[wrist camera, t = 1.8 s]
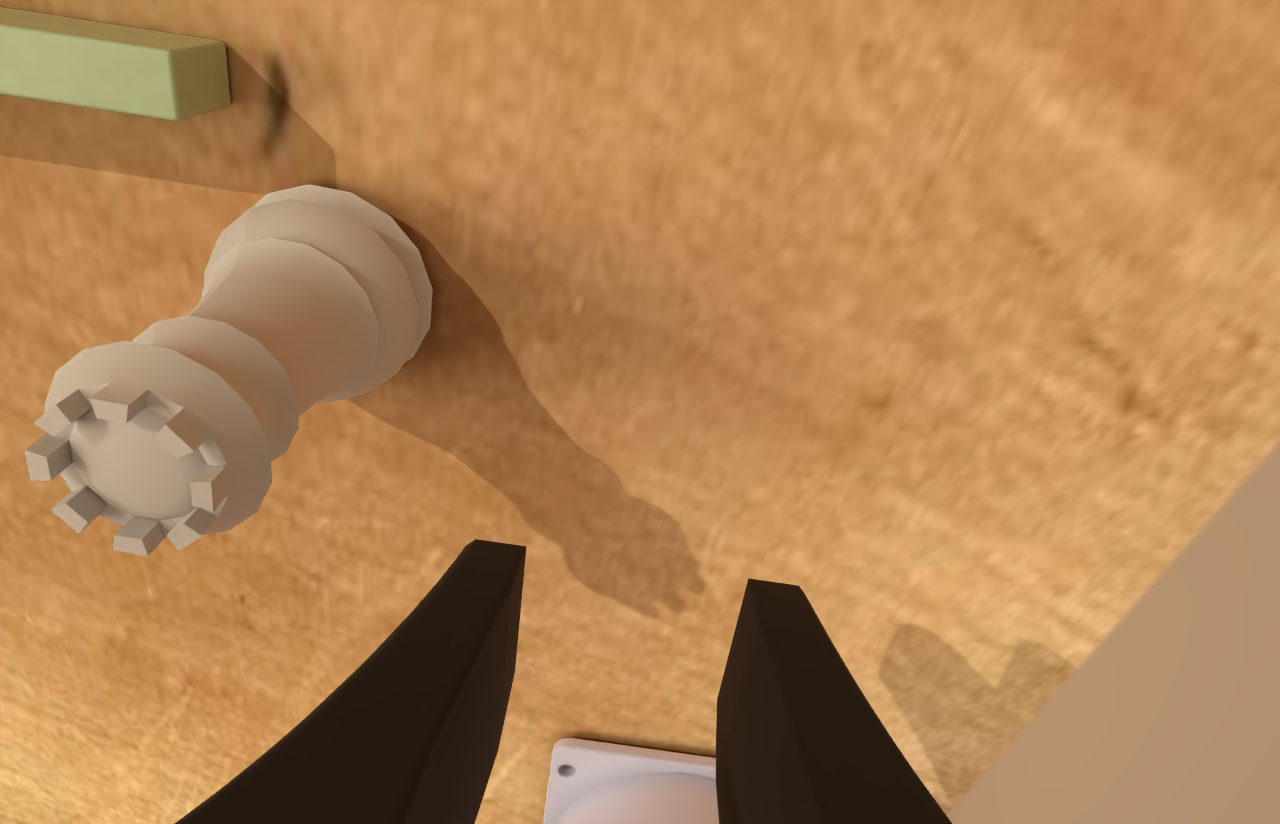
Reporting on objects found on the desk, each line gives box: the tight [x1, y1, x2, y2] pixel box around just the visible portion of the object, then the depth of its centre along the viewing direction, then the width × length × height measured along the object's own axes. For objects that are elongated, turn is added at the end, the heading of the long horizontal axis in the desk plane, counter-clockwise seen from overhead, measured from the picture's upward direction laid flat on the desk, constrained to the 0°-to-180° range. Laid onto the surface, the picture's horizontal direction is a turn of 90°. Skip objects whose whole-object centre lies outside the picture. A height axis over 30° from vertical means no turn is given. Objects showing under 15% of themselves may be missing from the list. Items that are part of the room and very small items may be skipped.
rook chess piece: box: [24, 184, 433, 556], centre depth 15 cm, size 4×4×8 cm
